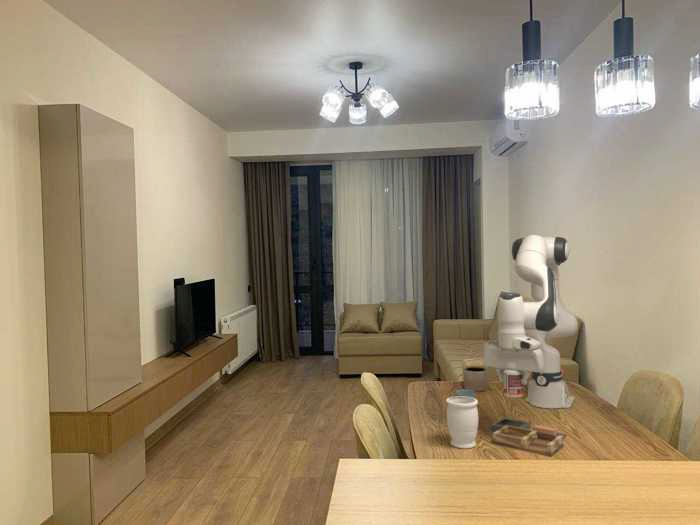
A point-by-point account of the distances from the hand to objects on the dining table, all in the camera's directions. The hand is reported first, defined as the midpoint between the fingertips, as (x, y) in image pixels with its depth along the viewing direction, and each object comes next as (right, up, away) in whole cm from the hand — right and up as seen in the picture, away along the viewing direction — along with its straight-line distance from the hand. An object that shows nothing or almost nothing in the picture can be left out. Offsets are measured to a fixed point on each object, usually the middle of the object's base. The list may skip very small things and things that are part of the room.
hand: (513, 382), depth 176 cm
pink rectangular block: (+11, -20, +1) cm, 23 cm away
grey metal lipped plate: (+13, -20, +4) cm, 24 cm away
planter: (+5, -20, +72) cm, 75 cm away
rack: (+4, -20, -3) cm, 20 cm away
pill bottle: (0, -5, 0) cm, 5 cm away
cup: (-10, -21, +27) cm, 36 cm away
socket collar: (+3, -20, +13) cm, 24 cm away
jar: (-17, -21, -1) cm, 27 cm away
